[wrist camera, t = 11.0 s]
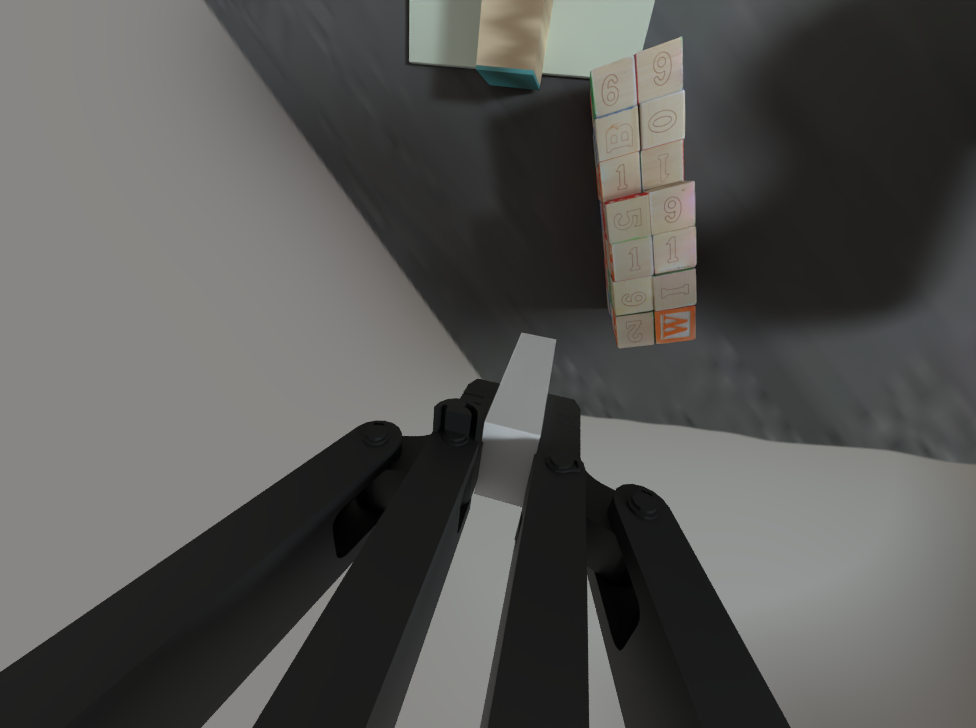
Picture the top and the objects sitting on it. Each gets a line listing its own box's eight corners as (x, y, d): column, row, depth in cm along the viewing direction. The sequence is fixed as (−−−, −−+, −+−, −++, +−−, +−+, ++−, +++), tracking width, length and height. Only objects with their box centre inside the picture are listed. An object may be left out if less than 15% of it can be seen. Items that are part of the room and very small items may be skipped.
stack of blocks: (587, 97, 33) (591, 52, 22) (659, 73, 31) (700, 11, 20) (607, 309, 41) (617, 350, 31) (665, 301, 39) (696, 341, 29)
